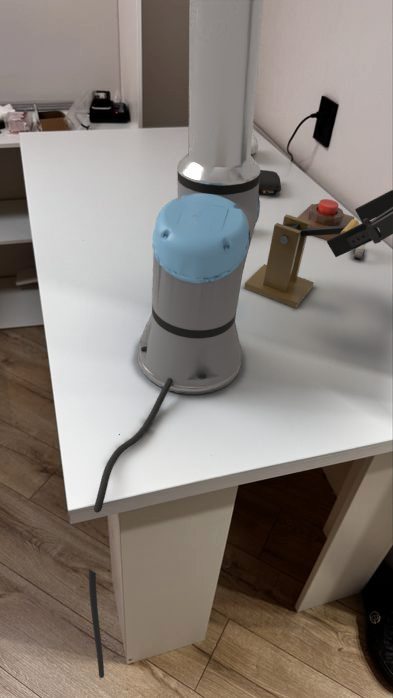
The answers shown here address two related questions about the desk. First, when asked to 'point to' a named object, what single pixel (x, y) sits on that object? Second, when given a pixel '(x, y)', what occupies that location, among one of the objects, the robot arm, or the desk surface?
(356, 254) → the wristwatch
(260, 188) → the carrying case
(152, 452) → the desk surface
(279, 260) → the bracket
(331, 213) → the button
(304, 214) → the switch block
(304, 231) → the pivoting switch lever
